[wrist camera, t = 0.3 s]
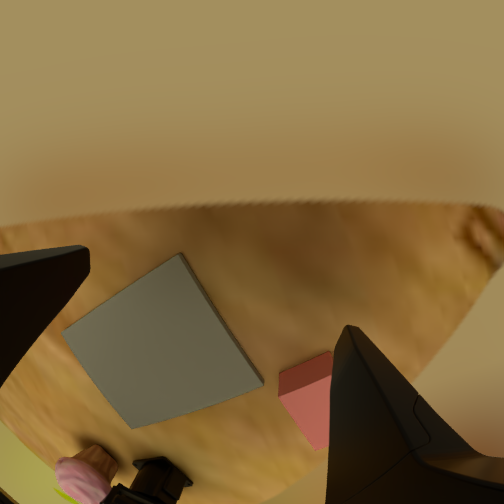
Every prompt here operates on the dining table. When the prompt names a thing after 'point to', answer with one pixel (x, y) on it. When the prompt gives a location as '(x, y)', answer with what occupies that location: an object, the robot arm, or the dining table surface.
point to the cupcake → (87, 475)
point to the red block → (309, 397)
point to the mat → (161, 348)
